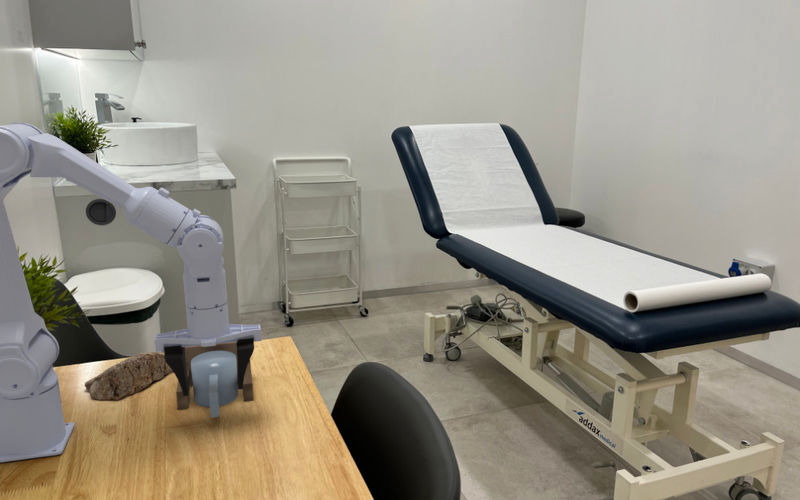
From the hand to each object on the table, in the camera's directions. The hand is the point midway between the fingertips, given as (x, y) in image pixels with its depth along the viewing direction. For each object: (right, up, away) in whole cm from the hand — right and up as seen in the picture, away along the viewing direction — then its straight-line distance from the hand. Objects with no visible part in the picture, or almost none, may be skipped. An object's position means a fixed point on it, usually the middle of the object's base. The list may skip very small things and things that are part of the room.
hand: (213, 389), depth 89 cm
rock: (-19, -2, +15) cm, 24 cm away
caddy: (-3, -3, +11) cm, 11 cm away
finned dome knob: (-2, -4, +6) cm, 8 cm away
